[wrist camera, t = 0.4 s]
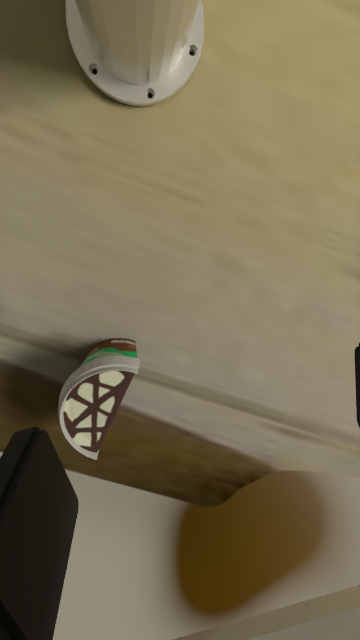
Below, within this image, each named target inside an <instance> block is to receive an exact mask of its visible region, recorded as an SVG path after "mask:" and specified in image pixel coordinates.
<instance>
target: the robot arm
mask: <svg viewBox="0 0 360 640" xmlns="http://www.w3.org/2000/svg"><path fill="white" fill-rule="evenodd" d="M65 10H66V25H67V30H68V36H69V39H70V42H71V45H72V48H73V51H74V54H75V56H76V58H77V60H78V62H79V64H80V66H81V67H82V69H83V71H84V72H85V74H86V75H87V77H88V78H89V79H90V80H91V81H92V82H93V84H94V85H95V86H96V87H97V88H98V89H100V90H101V91H102V92H103V93H105V94H106V95H107V96H109V97H111V98H112V99H114V100H116V101H118V102H121V103H124V104H127V105H131V106H142V107H143V106H151V105H156V104H158V103H161V102H164V101H166V100H168V99H169V98H171V97H172V96H174V95H175V94H176V93H177V92H178V91H179V90H180V89H181V88H182V87H183V86H184V85H185V84H186V83H187V81H188V80H189V78H190V77H191V75H192V74H193V71H194V69H195V67H196V65H197V62H198V60H199V57H200V54H201V50H202V44H203V39H204V14H203V7H202V2H201V0H66V2H65ZM189 52H193V53H194V56H191V55H190V54H189ZM93 70H97V74H96V75H94V74H93V73H92V72H93ZM148 94H152V96H153V97H152V98H151V99H150V98H148V96H147V95H148ZM355 377H356V406H357V422H358V425H359V427H360V343H359V346H358V347H356V349H355ZM77 513H78V499H77V495H76V493H75V491H74V489H73V487H72V485H71V483H70V480H69V478H68V476H67V474H66V472H65V470H64V468H63V465H62V463H61V461H60V459H59V457H58V455H57V453H56V450H55V448H54V446H53V444H52V442H51V440H50V438H49V436H48V434H47V432H46V431H45V430H40V429H39V428H38V427H33V428H29V429H25V430H21V431H18V432H15V433H14V434H13V436H12V438H11V440H10V441H9V443H8V445H7V447H6V449H5V451H4V452H3V455H2V456H1V458H0V640H52V639H53V634H54V629H55V624H56V619H57V614H58V609H59V604H60V599H61V594H62V588H63V584H64V578H65V574H66V569H67V563H68V558H69V553H70V548H71V543H72V538H73V533H74V528H75V523H76V518H77ZM174 640H360V585H358V586H355V587H352V588H348V589H345V590H341V591H338V592H334V593H331V594H327V595H324V596H320V597H317V598H314V599H310V600H307V601H303V602H300V603H297V604H293V605H290V606H286V607H283V608H279V609H276V610H273V611H269V612H265V613H263V614H259V615H255V616H252V617H248V618H245V619H242V620H238V621H235V622H231V623H228V624H224V625H221V626H217V627H214V628H211V629H208V630H204V631H201V632H197V633H194V634H191V635H187V636H184V637H181V638H177V639H174Z"/></svg>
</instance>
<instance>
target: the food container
mask: <svg viewBox="0 0 360 640" xmlns="http://www.w3.org/2000/svg"><path fill="white" fill-rule="evenodd" d="M139 365H140V359H137V353H136V343H135V341H133V340H130V339H122V338H113V339H110V340H106V341H102V342H101V343H99V344H98V345H96V346H94V347H93V348H92V349H91V350H90V351H89V353H88V354H87V355H86V357H85V359H84V361H83V363H82V365H81V367H79V368H78V369H77V370H76V371H74V372H73V373H72V374H71V375H70V377H69V378H68V379H67V380H66V382H65V384H64V386H63V388H62V390H61V393H60V396H59V408H58V414H59V422H60V425H61V428H62V431H63V433H64V435H65V437H66V439H67V440H68V441H69V443H70V444H71V445H72V446H73V447H74V448H75V449H76V450H78V451H79V452H80V453H82V454H84V455H85V456H87V457H89V458H92V459H95V460H97V456H98V451H99V448H100V445H101V443H102V441H103V439H104V437H105V435H106V432H107V430H108V428H109V426H110V424H111V422H112V421H113V419H114V417H115V415H116V412H117V410H118V408H119V406H120V403H121V401H122V399H123V397H124V395H125V393H126V390H127V388H128V386H129V384H130V382H131V380H132V378H133V376H134V373H136V374H138V369H139Z"/></svg>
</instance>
